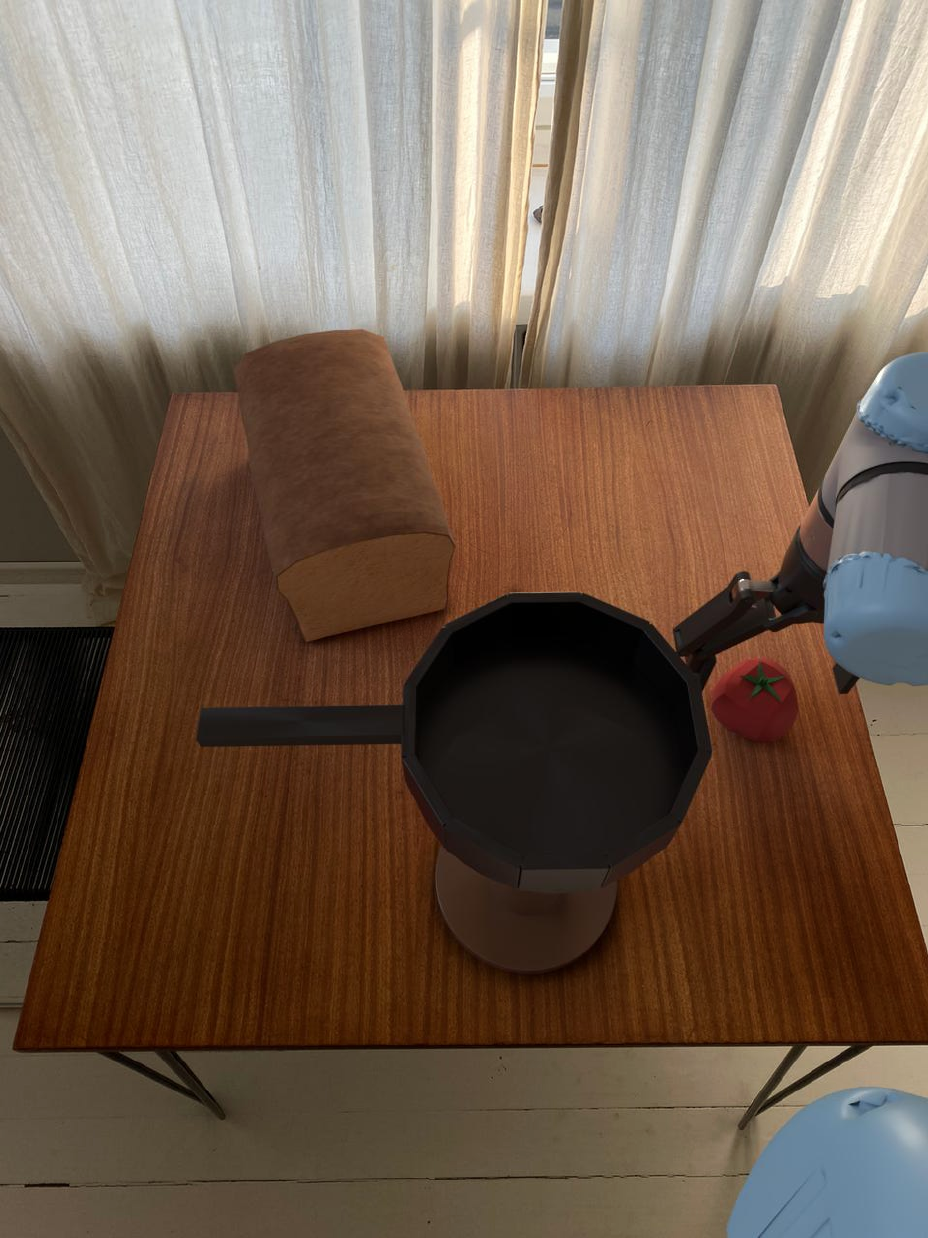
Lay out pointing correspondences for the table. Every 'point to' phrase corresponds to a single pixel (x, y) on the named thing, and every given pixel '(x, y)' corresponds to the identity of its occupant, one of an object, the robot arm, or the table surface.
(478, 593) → the table surface
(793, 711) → the tomato
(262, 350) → the bread
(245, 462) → the table surface
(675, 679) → the pan
